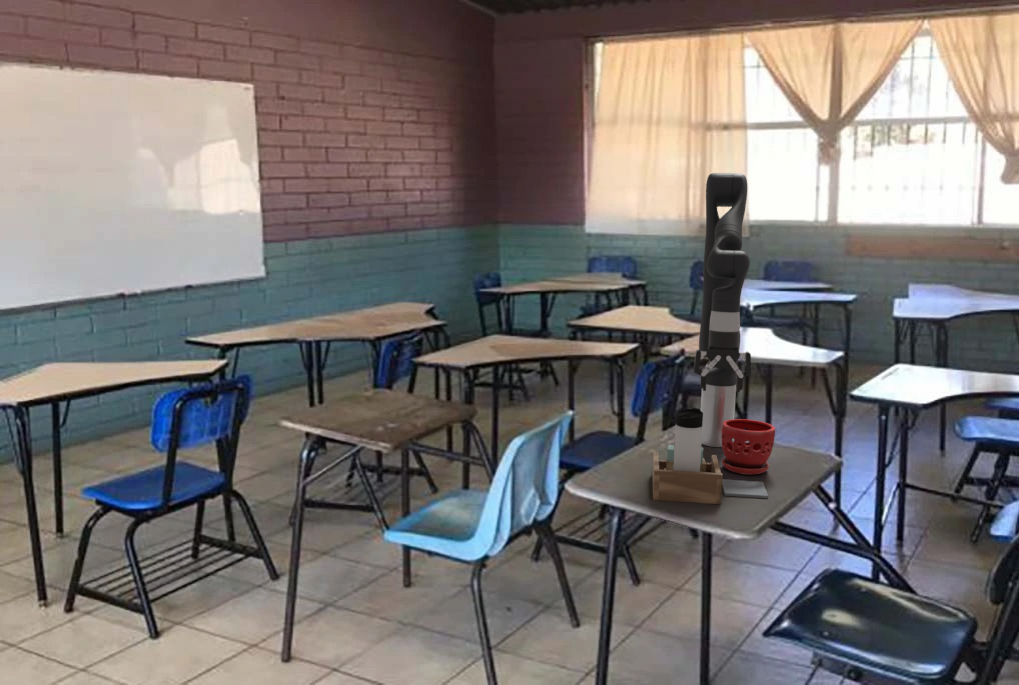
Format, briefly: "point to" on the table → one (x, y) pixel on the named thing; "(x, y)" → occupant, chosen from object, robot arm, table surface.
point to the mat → (744, 488)
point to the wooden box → (687, 483)
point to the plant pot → (747, 445)
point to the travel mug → (688, 440)
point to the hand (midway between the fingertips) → (720, 391)
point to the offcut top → (671, 453)
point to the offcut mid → (670, 465)
